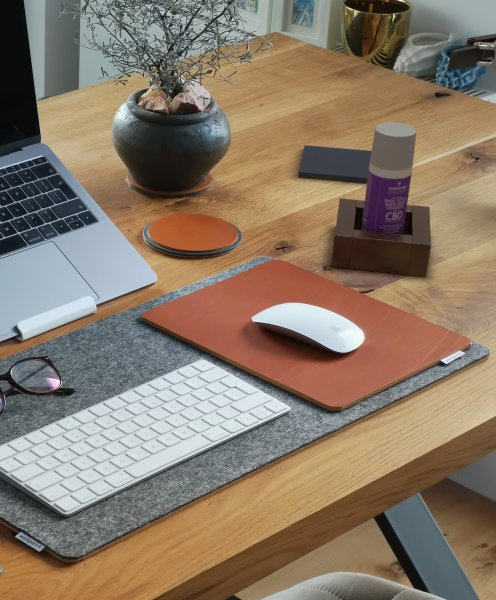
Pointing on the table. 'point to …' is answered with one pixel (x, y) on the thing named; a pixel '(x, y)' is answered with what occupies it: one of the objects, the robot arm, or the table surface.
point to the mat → (335, 164)
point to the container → (389, 178)
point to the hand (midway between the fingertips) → (478, 71)
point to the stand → (382, 242)
